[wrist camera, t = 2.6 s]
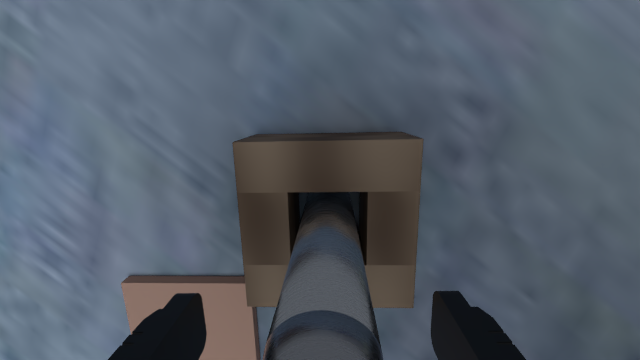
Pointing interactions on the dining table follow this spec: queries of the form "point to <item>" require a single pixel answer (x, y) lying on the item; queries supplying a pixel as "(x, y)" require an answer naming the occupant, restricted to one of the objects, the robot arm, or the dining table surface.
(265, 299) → the walnut block
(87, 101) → the dining table surface
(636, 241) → the dining table surface
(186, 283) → the terracotta mat
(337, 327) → the metal pin
